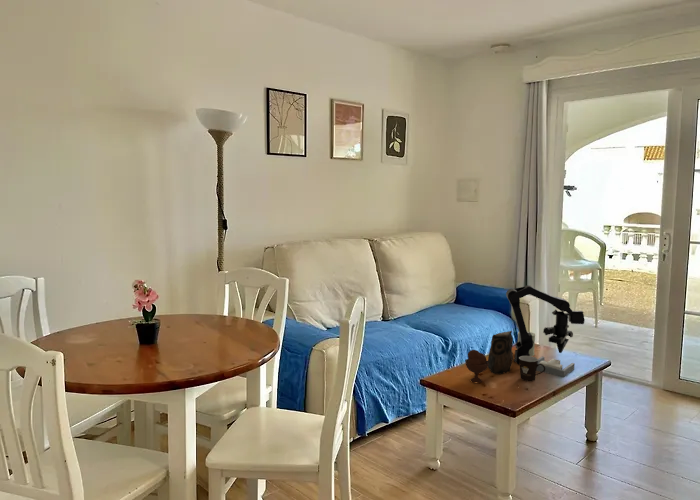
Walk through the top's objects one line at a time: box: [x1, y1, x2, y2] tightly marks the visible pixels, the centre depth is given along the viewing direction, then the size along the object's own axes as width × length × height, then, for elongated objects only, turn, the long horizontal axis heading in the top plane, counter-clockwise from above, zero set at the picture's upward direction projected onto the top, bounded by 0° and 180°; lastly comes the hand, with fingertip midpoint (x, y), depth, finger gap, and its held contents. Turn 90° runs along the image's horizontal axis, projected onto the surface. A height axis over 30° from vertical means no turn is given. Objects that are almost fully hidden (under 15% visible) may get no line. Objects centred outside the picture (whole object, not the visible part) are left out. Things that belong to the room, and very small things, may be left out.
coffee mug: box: [518, 356, 545, 382], centre depth 242 cm, size 12×9×10 cm
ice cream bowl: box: [464, 349, 489, 383], centre depth 240 cm, size 11×11×15 cm
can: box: [517, 331, 536, 357], centre depth 281 cm, size 9×9×12 cm
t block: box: [539, 358, 563, 370], centre depth 256 cm, size 10×10×4 cm
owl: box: [487, 330, 514, 375], centre depth 254 cm, size 13×13×20 cm
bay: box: [536, 356, 576, 378], centre depth 257 cm, size 15×16×3 cm
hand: (560, 352), depth 264 cm, fingers closed
